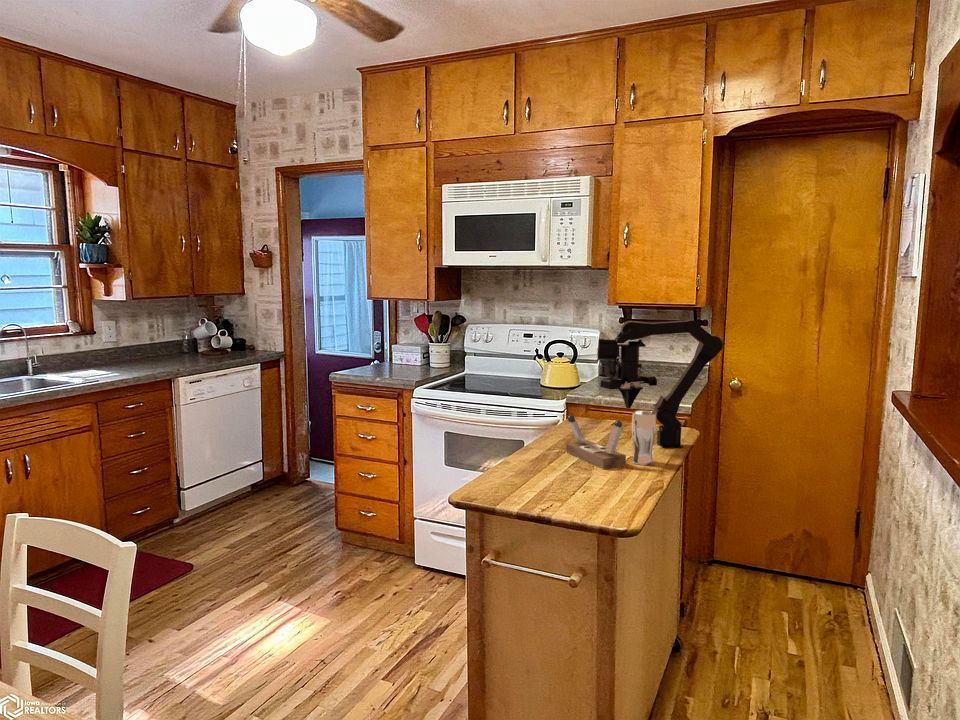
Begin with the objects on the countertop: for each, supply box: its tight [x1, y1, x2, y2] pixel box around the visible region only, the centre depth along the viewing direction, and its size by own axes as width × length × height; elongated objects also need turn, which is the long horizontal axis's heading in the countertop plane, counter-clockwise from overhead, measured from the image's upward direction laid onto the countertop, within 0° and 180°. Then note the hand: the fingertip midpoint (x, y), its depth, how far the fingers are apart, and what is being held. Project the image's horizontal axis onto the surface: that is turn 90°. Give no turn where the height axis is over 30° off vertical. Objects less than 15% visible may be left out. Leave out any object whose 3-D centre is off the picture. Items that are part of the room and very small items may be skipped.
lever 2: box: [605, 420, 623, 454], centre depth 189 cm, size 2×3×10 cm
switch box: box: [565, 439, 627, 470], centre depth 196 cm, size 8×19×4 cm, turn 26°
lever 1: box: [567, 414, 586, 444], centre depth 200 cm, size 2×3×10 cm
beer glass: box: [631, 409, 657, 466], centre depth 191 cm, size 7×7×15 cm
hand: (628, 408), depth 211 cm, fingers closed
